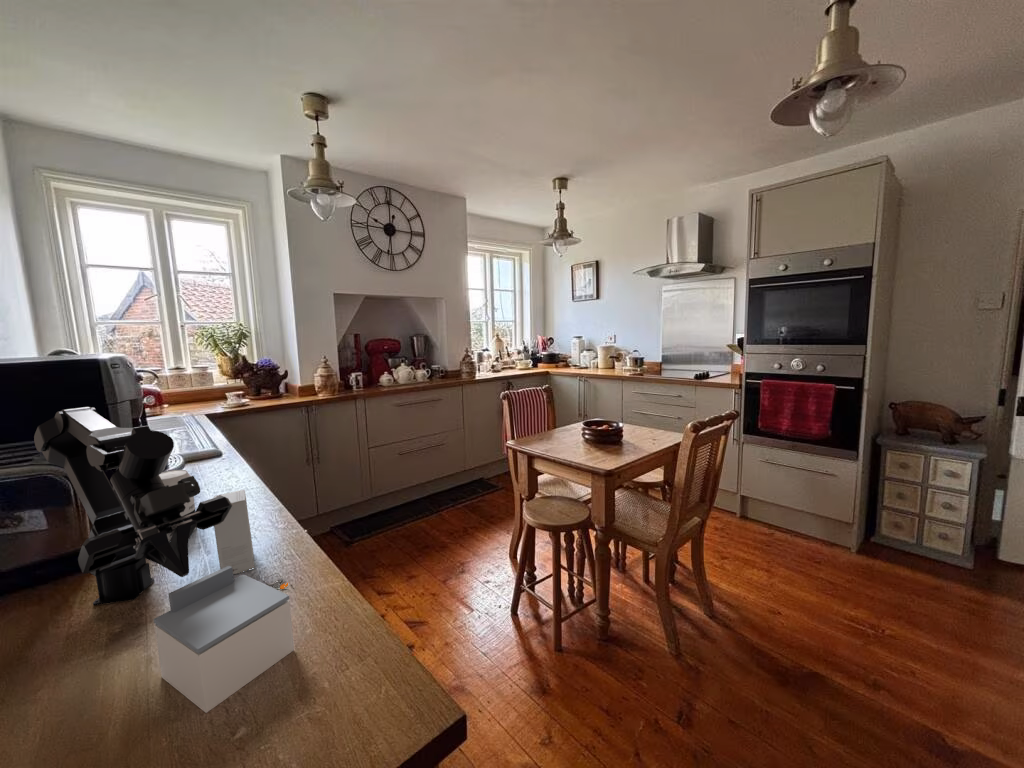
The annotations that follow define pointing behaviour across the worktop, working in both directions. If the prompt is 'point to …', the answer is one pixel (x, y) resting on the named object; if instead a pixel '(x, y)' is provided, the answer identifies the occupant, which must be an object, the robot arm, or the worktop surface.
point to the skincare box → (235, 535)
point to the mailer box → (226, 658)
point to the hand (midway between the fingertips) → (185, 574)
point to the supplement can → (172, 479)
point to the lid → (216, 608)
